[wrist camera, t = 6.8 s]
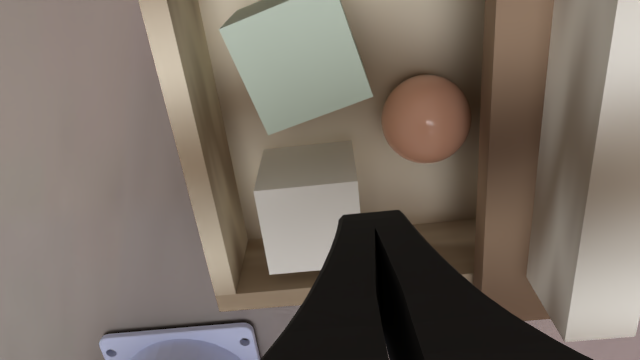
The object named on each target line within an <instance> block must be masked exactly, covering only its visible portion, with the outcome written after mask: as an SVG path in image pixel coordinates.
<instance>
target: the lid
mask: <svg viewBox="0 0 640 360" xmlns="http://www.w3.org/2000/svg"><path fill="white" fill-rule="evenodd" d="M473 285H474V286H475V287H476V288H478V289H479V290H480V291H481V292H483V293H484V294H485V295H487V296H488V297H489V298H491V299H492V300H493V301H495V302H496V303H498V304H499V305H500V306H502V307H503V308H505V309H506V310H507V311H509V312H510V313H512V314H513V315H515V316H516V317H518V318H520V319H521V320H523V321H528V320H540V319H551V320H552V322H553V323H554V325H555V327H556V328H557V330H558V332H559V333H560V335H561V337H562V339H563V340H564V342H572V341H585V340H597V339H610V338H622V337H634V336H635V335H636V331H637V327H638V322H639V318H640V0H485V11H484V35H483V60H482V85H481V109H480V134H479V158H478V183H477V208H476V232H475V257H474V281H473Z"/></svg>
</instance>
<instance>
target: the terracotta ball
mask: <svg viewBox="0 0 640 360" xmlns="http://www.w3.org/2000/svg"><path fill="white" fill-rule="evenodd" d="M471 120H472V117H471V109H470V105H469V102H468V100H467V98H466V96H465V94H464V93H463V92H462V90H461V89H460V88H459V87H458V86H457V85H455V84H454V83H453V82H451V81H450V80H448V79H446V78H443V77H440V76H436V75H419V76H415V77H412V78H409V79H407V80H405V81H404V82H402V83H400V84H399V85H398V86H397V87H396V88H395V89H394V90H393V91H392V92H391V93H390V94H389V96H388V98H387V99H386V101H385V104H384V107H383V110H382V116H381V124H382V130H383V134H384V136H385V139H386V141H387V143H388V144H389V146H390V147H391V148H392V149H393V150H394V151H395V152H396V153H397V154H398V155H400V156H401V157H403V158H405V159H407V160H409V161H412V162H415V163H423V164H426V163H435V162H439V161H442V160H444V159H446V158H448V157H450V156H451V155H453V154H454V153H455V152H456V151H458V150H459V148H460V147H461V146H462V145H463V143H464V142H465V140H466V139H467V137H468V134H469V131H470V127H471Z"/></svg>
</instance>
